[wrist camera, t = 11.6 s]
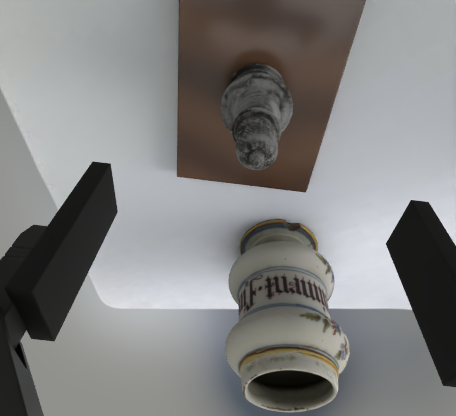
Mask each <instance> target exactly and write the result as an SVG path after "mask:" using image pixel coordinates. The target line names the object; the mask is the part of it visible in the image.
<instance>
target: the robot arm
mask: <svg viewBox="0 0 456 416" xmlns="http://www.w3.org/2000/svg"><path fill="white" fill-rule="evenodd" d="M117 212H118V211H117V205H116V198H115V191H114V184H113V177H112V171H111V164H108V163H100V162H92V163H91V165H90V166H89V168H88V169H87V171H86V172H85V173H84V175H83V176H82V178H81V179H80V181H79V182H78V183H77V185H76V186H75V188H74V189H73V191H72V192H71V193H70V195H69V196H68V198H67V199H66V201H65V202H64V203H63V205H62V206H61V208H60V209H59V211H58V212H57V213H56V215H55V216H54V218H53V219H52V221H51V222H50V224H49V225H48V226H40V225H33V226H31V227H30V228H28V229H27V230H26V231H24V232H23V233H21V234H20V235H19V237H18V238H17V239H16V241H15V242H14V243H13V245H12V247H10V248H9V250H8V251H7V252H6V253H5V256H4V257H2V259H1V260H0V416H44V415H43V412H42V409H41V405H40V402H39V398H38V396H37V392H36V389H35V385H34V382H33V379H32V375H31V372H30V369H29V365H28V362H27V359H26V355H25V352H24V349H23V346H22V343H21V342H20V340H21V338H22V337H23V335H24V333H25V331H26V330H27V332H28V333H29V335H30V337H31V339H38V340H47V341H55V339H56V337H57V335H58V333H59V331H60V329H61V327H62V325H63V323H64V321H65V318H66V316H67V314H68V312H69V310H70V308H71V306H72V304H73V302H74V300H75V298H76V296H77V294H78V292H79V290H80V288H81V286H82V284H83V282H84V280H85V277H86V276H87V274H88V271H89V269H90V267H91V265H92V263H93V261H94V259H95V257H96V255H97V253H98V251H99V249H100V247H101V245H102V243H103V241H104V239H105V237H106V235H107V233H108V231H109V229H110V226H111V224H112V222H113V220H114V218H115V216H116V214H117ZM386 245H387V248H388V250H389V253H390V255H391V258H392V260H393V263H394V265H395V268H396V270H397V273H398V275H399V278H400V280H401V282H402V285H403V287H404V290H405V292H406V295H407V297H408V300H409V302H410V305H411V307H412V310H413V312H414V314H415V317H416V319H417V322H418V324H419V327H420V329H421V332H422V334H423V337H424V339H425V342H426V344H427V346H428V349H429V352H430V354H431V357H432V359H433V361H434V364H435V367H436V369H437V371H438V374H439V376H440V379H441V381H442V384H443V386H451V387H456V246H455V244H454V242H453V241H452V239H451V238H450V236H449V234H448V233H447V231H446V230H445V228H444V226H443V225H442V223H441V222H440V220H439V218H438V217H437V215H436V213H435V212H434V210H433V209H432V207H431V205H430V204H429V202H423V201H415V200H411V201H410V203H409V205H408V206H407V208H406V210H405V212H404V213H403V215H402V217H401V219H400V220H399V222H398V224H397V225H396V227H395V229H394V231H393V232H392V234H391V236H390V238H389V239H388V241H387V243H386Z"/></svg>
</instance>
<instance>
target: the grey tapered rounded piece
mask: <svg viewBox="0 0 456 416" xmlns="http://www.w3.org/2000/svg"><path fill="white" fill-rule="evenodd" d="M220 111H221V117H222V120H223V123H224V125H225V126H226V128H227V129H228V131H229V132H230V133H232V136H233V139H234V141H235V143H236V145H235V152H236V156H237V158H238V160H239V162H240V163H241V164H242V165H243V166H244V167H246V168H248V169H252V170H262V169H265V168H267V167H269V166H270V165H272V164H273V163H274V161H275V160H276V157H277V154H278V141H279V139H280V136H281V132H282V131H284V129H285V128H286V127H287V125H288V124H289V122H290V119H291V116H292V112H293V102H292V97H291V94H290V92H289V90H288V88H287V87H286V86H285V82H284V80H283V78H282V76H281V75H280V74H279V73H278V71H277V70H276V69H274V68H272V67H271V66H269V65H266V64H262V63H252V64H249V65H246V66H243V67H242V68H240V69H239V70H237V71H236V72H235V74H234V75H233V76H232V77H231V79H230V81H229V83H228V87H227V88H226V90H225V92H224V94H223V96H222V100H221V105H220Z"/></svg>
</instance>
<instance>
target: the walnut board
mask: <svg viewBox="0 0 456 416" xmlns="http://www.w3.org/2000/svg"><path fill="white" fill-rule="evenodd" d="M365 1H366V0H179V61H178V146H177V177H185V178H193V179H201V180H209V181H217V182H226V183H234V184H242V185H250V186H258V187H266V188H275V189H283V190H291V191H299V192H306V190H307V187H308V184H309V181H310V178H311V174H312V171H313V168H314V165H315V162H316V158H317V155H318V152H319V149H320V146H321V142H322V139H323V136H324V133H325V130H326V126H327V123H328V120H329V117H330V113H331V110H332V107H333V104H334V101H335V97H336V94H337V91H338V88H339V85H340V81H341V78H342V75H343V72H344V69H345V65H346V62H347V59H348V56H349V53H350V49H351V46H352V43H353V40H354V37H355V33H356V30H357V27H358V24H359V20H360V17H361V14H362V11H363V8H364V4H365ZM252 63H262V64H266V65H269V66H271V67H272V68H274V69H276V70H277V71H278V73H279V74H280V75H281V76H282V78H283V80H284V82H285V86H286V87H287V88H288V90H289V92H290V94H291V97H292V102H293V112H292V116H291V119H290V122H289V124H288V125H287V127H286V128H285V129H284V131H282V132H281V136H280V139H279V141H278V154H277V157H276V160H275V161H274V163H273V164H272V165H270V166H269V167H267V168H265V169H262V170H252V169H248V168H246V167H244V166H243V165H242V164H241V163H240V162H239V160H238V158H237V156H236V152H235V145H236V143H235V141H234V139H233V136H232V133H230V132H229V131H228V129H227V128H226V126H225V125H224V123H223V120H222V117H221V111H220V105H221V100H222V96H223V94H224V92H225V90H226V88H227V87H228V83H229V81H230V79H231V77H232V76H233V75H234V74H235V72H236V71H237V70H239V69H240V68H242V67H243V66H246V65H249V64H252Z"/></svg>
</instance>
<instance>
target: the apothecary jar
mask: <svg viewBox="0 0 456 416" xmlns="http://www.w3.org/2000/svg"><path fill="white" fill-rule="evenodd" d="M240 251H241V256H240V257H239V258H238V259H237V260H236V262H235V263H234V265H233V266H232V268H231V271H230V274H229V289H230V292H231V295H232V297H233V299H234V300H235V302H236V303H237V304H238V305H239V322H238V323H237V324H236V325H235V326H234V327H233V328H232V329H231V331H230V333H229V335H228V337H227V340H226V346H225V351H226V357H227V360H228V362H229V364H230V366H231V367H232V369H233V370H234V371H235V372H236V373H237V374H238V375H239V376H240V377H241V379H242V390H243V394H244V396H245V397H246V399H247V400H248V401H250V402H251V403H253V404H254V405H257V406H259V407H261V408H264V409H268V410H273V411H280V412H301V411H307V410H312V409H316V408H319V407H321V406H324V405H326V404H328V403H329V402H331V401H332V400H333V399H334V398H335V396H336V395H337V392H338V375H339V374H340V373H341V372H342V371H343V370H344V368H345V366H346V364H347V362H348V359H349V352H350V348H349V342H348V339H347V337H346V335H345V333H344V331H343V330H342V329H341V327H340V326H339V325H338V324H337V323H336V322H334V321H333V320H332V319H331V318H330V314H329V309H328V303H327V301H328V300H329V299H330V297H331V295H332V292H333V289H334V275H333V271H332V269H331V267H330V265H329V263H328V262H327V261H326V259H325V258H324V257H323V256H322V255H321V254H319V253H318V252H317V251H318V244H317V240H316V238H315V236H314V235H313V233H312V232H311V231H310V230H309V229H307V228H306V227H305V226H303V225H301V224H289V223H287V222H286V221H285V220H271V221H266V222H263V223H260V224H258V225H256V226H254V227H253V228H251V229H250V230H249V231H248V232H247V233H246V234H245V235H244V237H243V239H242V241H241V246H240Z"/></svg>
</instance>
